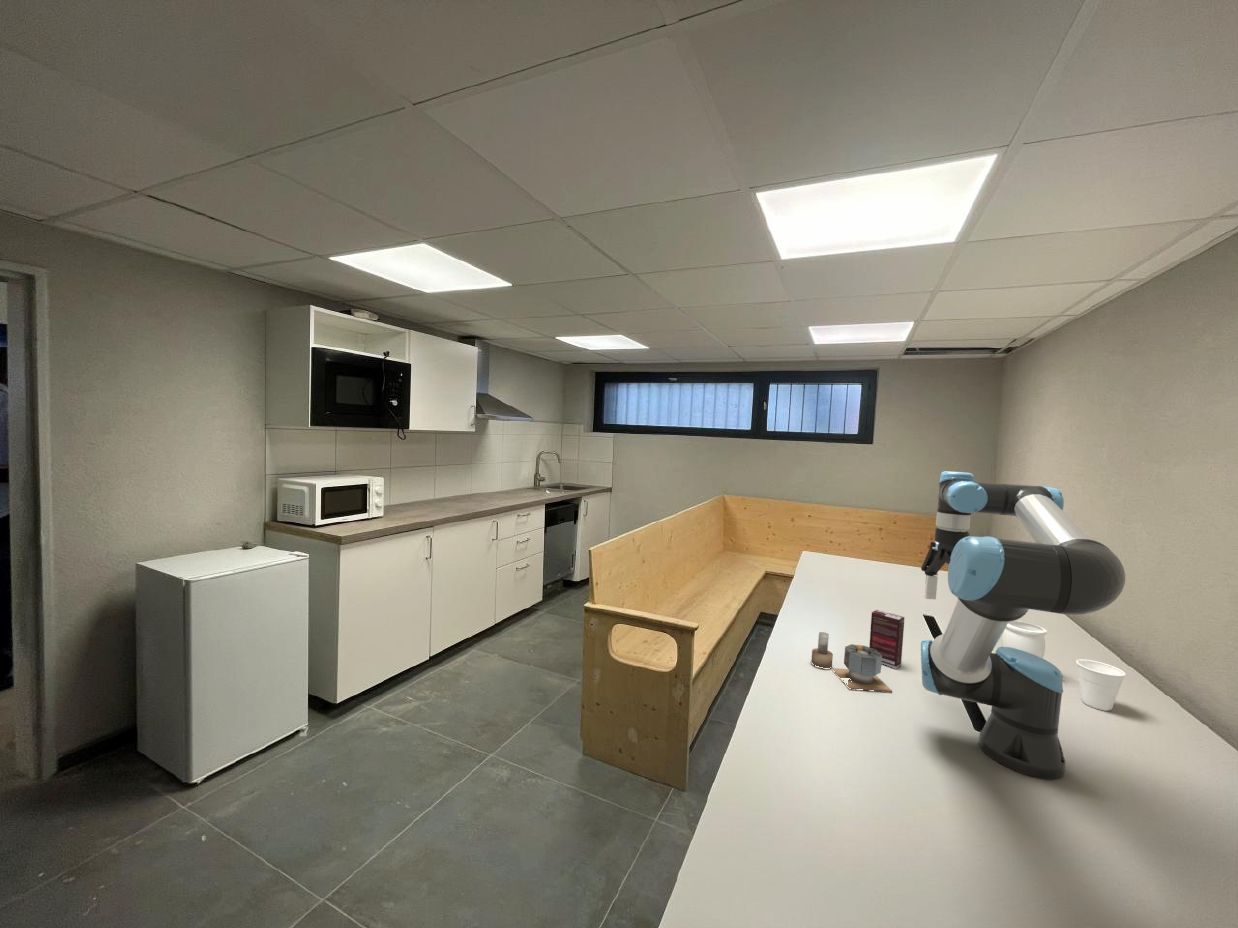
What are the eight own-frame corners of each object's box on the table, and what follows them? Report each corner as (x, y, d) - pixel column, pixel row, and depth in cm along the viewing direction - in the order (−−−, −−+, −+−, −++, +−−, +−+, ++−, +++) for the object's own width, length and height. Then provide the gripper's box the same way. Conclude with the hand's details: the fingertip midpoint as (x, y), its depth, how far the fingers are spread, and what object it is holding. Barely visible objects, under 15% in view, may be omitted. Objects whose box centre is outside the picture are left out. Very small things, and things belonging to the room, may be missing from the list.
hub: (892, 692, 136) (894, 663, 136) (849, 689, 137) (851, 660, 136) (871, 672, 148) (873, 645, 148) (831, 669, 149) (833, 642, 148)
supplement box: (901, 665, 154) (905, 616, 154) (896, 669, 151) (900, 620, 150) (872, 655, 161) (876, 608, 160) (867, 659, 158) (871, 611, 157)
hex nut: (884, 670, 141) (886, 653, 141) (870, 678, 136) (871, 660, 136) (854, 658, 149) (855, 642, 148) (839, 665, 143) (840, 648, 143)
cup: (1132, 717, 130) (1136, 678, 129) (1089, 711, 132) (1093, 672, 131) (1103, 699, 139) (1107, 661, 139) (1063, 693, 141) (1067, 656, 141)
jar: (1026, 666, 159) (1030, 621, 159) (1051, 681, 149) (1055, 633, 148) (992, 662, 160) (996, 618, 160) (1014, 677, 150) (1018, 630, 149)
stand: (835, 670, 149) (837, 638, 148) (815, 668, 149) (817, 636, 148) (827, 661, 155) (829, 630, 154) (808, 660, 155) (810, 629, 154)
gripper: (1001, 539, 117) (993, 625, 118) (937, 522, 142) (931, 593, 143) (970, 537, 117) (962, 623, 118) (911, 520, 142) (905, 591, 143)
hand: (945, 606), depth 131 cm, fingers open, 13 cm apart
